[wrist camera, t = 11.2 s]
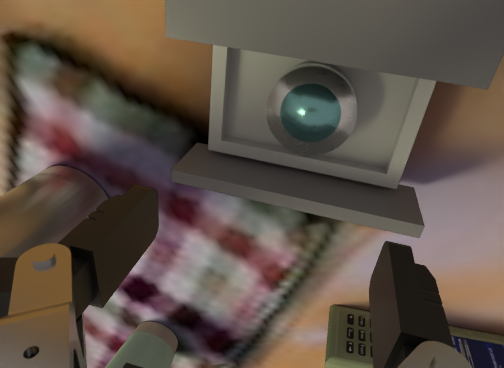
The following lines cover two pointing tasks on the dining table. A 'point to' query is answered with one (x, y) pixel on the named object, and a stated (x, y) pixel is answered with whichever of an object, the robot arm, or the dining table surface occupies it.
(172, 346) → the coffee cup
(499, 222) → the dining table surface
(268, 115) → the disc
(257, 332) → the dining table surface
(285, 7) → the block
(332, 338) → the handheld radio
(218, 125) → the tray
